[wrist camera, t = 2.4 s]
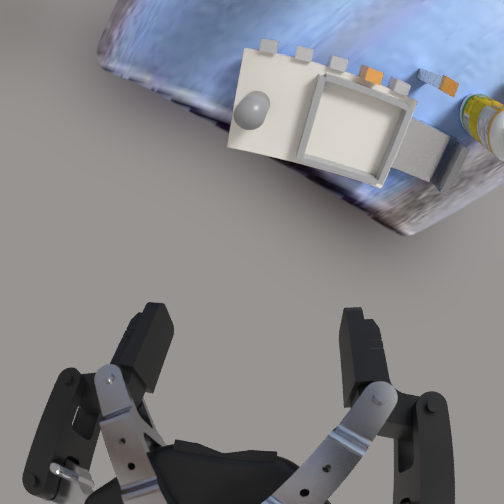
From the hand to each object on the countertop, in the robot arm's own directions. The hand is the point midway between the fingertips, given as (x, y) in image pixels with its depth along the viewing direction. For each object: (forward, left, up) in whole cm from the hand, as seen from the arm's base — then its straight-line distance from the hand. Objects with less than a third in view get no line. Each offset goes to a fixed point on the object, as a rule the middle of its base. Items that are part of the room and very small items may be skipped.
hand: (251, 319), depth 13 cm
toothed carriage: (+3, +5, -20) cm, 21 cm away
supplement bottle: (+20, +11, -22) cm, 32 cm away
